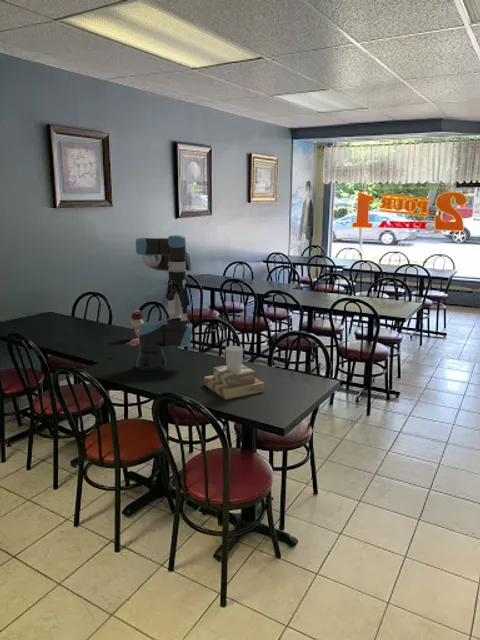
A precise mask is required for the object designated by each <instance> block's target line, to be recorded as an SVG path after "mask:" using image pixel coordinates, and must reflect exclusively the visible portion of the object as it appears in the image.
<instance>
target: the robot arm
mask: <svg viewBox="0 0 480 640" xmlns="http://www.w3.org/2000/svg"><path fill="white" fill-rule="evenodd" d="M186 243H187V242H186V237H185V236H184V235H178V234H177V235H175V234H173V235H169V236H168V238H167V237H166V238H165V237H163V238H161V237H160V238H155V237H154V238H153V237H151V238H150V237H149V238H148V237H138V238H136V240H135V253H136V255H138V256H139V255H140V256H142V262H143V263H144V265H146V267H148V268H151V269H152V270H154V271H155V270H156V271H162V272H163V271H164V272H166V274H167V276H168V284H167V288H166V289H167V290H166V294H165V299H167V303H168V304H167V305H168V306H167V308H168V309H167V310H168V311H167V313H168V315H169V318H168V319H167V320H166V323H165V324H164V323H163V322H162V320H150V321H145V322H144V323H143V324H141V325H140V327H139V338H138V339H139V344H138V346H139V352H138V357H137V360H136V362H135V363H136V367H135V368H136V369H138V370H140V371H142V372H143V371H144V372H157V371H161V370H163V369H165V368H167V360H166V357H165V355H164V351H163V348H183V347H189V346H190V345H191V342H192V341H191V340H192V339H191V338H192V331H193V324H192V323H190V319H188V306H190V304H191V302H190V299H189V294H188V289H187V281H186V279H187V278H186V277H187V276H188V275H189V272H190V271H192V263H191V256H190V251H189V250H188V249H186Z"/></svg>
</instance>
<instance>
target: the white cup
mask: <svg viewBox="0 0 480 640" xmlns="http://www.w3.org/2000/svg"><path fill="white" fill-rule="evenodd" d="M243 356H244V347H243V346H239V345H231V346H230V345H229V346H226V347H225V361H226V362H225V363H226V365H227V370H228V371H232V372H237V371H240V370H241V368H242V365H243V359H244V357H243Z"/></svg>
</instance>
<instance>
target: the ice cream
mask: <svg viewBox="0 0 480 640" xmlns="http://www.w3.org/2000/svg"><path fill="white" fill-rule="evenodd" d="M131 314H132V315H131V316H130V317H131V319H132V320H131V321H130V323H131V325H132V326H133V328H134V334H135V335H136V338H132V339H131V340H130V341H128V342H127V341H126V343H125V345H126V344H127V345H128V344H129V346H134V347H136V345H138V346H139V327H140V325H141V324H143V323H145V322H144V320H143V318H144V314H143V313H142V312H141V310H140V309H135V310H134V311H132V313H131Z"/></svg>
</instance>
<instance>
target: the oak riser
mask: <svg viewBox="0 0 480 640" xmlns="http://www.w3.org/2000/svg"><path fill="white" fill-rule="evenodd" d="M256 374H257V373H256V371H255V370H254V369H251V368H250V367H248V366H246V365H244V364H242V368H241V370H240V371H237V372H232V371H228V370H227V364H226V365H219V366H215V367H213V374H212V375H207V376H204V386H206V387H207V388H209V389H210V390H211V391H213V393H216V394H217V395H219V396H220V397H221V398H223V399H224V400H230V399H234V398H239V397H245V396H248V395H253V394H257V393H264V392H265V382H264V381H262V380H260V379H258V378H257V377H256Z"/></svg>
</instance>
